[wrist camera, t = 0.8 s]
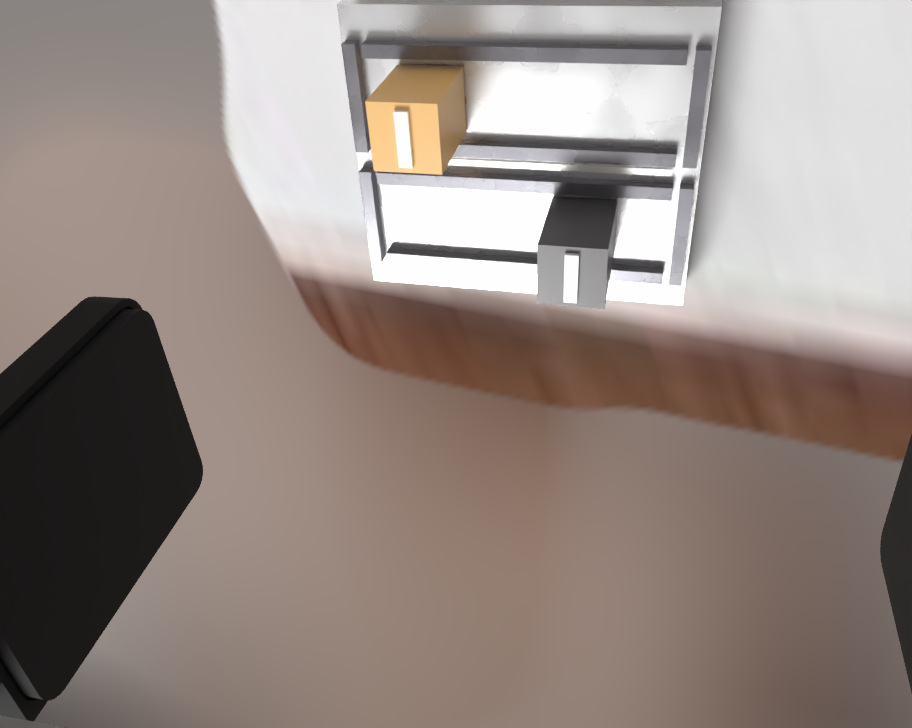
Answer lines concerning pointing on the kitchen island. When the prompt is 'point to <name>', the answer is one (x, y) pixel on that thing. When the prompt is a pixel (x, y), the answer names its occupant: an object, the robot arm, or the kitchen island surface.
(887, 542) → the robot arm
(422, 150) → the fader
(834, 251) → the kitchen island surface
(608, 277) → the fader
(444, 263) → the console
